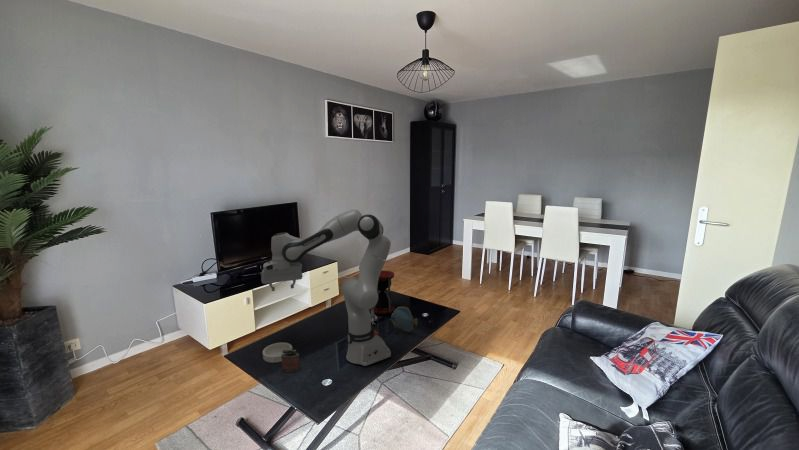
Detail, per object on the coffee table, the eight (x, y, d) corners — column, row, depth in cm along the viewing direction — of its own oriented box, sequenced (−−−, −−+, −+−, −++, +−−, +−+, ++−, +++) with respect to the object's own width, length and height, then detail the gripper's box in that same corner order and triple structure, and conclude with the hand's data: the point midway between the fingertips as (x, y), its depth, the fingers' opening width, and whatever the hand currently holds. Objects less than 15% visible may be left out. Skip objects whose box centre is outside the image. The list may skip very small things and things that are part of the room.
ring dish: (290, 345, 180) (290, 340, 179) (293, 358, 167) (293, 353, 167) (262, 351, 174) (262, 346, 174) (263, 365, 162) (263, 359, 161)
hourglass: (365, 309, 227) (365, 273, 223) (384, 303, 238) (383, 268, 234) (381, 316, 215) (380, 279, 211) (399, 309, 226) (399, 273, 222)
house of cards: (380, 325, 204) (380, 313, 203) (367, 324, 205) (366, 312, 204) (384, 319, 213) (383, 307, 212) (370, 318, 214) (370, 306, 213)
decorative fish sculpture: (395, 322, 207) (395, 299, 205) (422, 330, 196) (423, 306, 194) (383, 330, 197) (383, 305, 195) (411, 339, 186) (411, 313, 184)
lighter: (300, 367, 160) (299, 347, 159) (298, 371, 157) (297, 351, 155) (283, 367, 160) (281, 348, 158) (281, 371, 156) (279, 352, 155)
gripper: (301, 260, 181) (302, 284, 183) (260, 264, 173) (262, 290, 175) (303, 262, 175) (304, 288, 177) (260, 267, 167) (262, 294, 169)
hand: (282, 289), depth 176 cm, fingers open, 8 cm apart
